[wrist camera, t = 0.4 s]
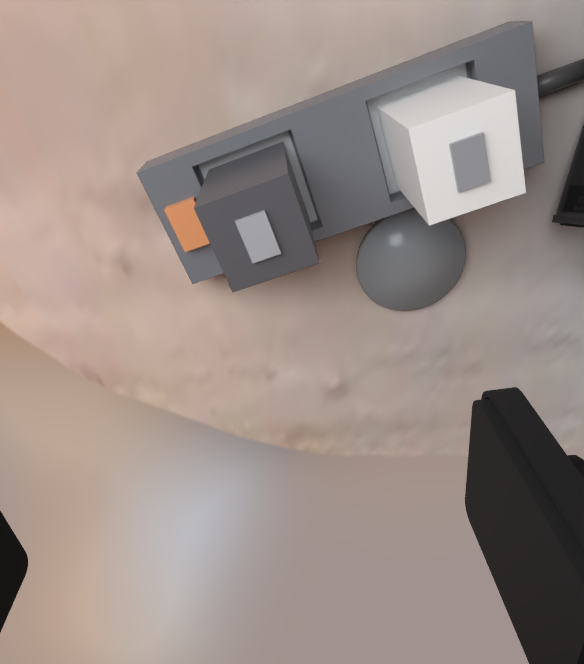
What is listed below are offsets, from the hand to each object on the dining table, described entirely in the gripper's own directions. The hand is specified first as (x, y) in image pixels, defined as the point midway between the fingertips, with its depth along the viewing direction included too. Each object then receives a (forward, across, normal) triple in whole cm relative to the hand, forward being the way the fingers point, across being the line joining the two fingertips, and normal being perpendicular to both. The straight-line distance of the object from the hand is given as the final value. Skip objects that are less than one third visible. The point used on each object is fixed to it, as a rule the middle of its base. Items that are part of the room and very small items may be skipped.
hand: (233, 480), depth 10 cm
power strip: (+28, -7, 0) cm, 29 cm away
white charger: (+26, -11, -1) cm, 28 cm away
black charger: (+26, 0, +2) cm, 26 cm away
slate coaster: (+28, -10, +9) cm, 31 cm away
